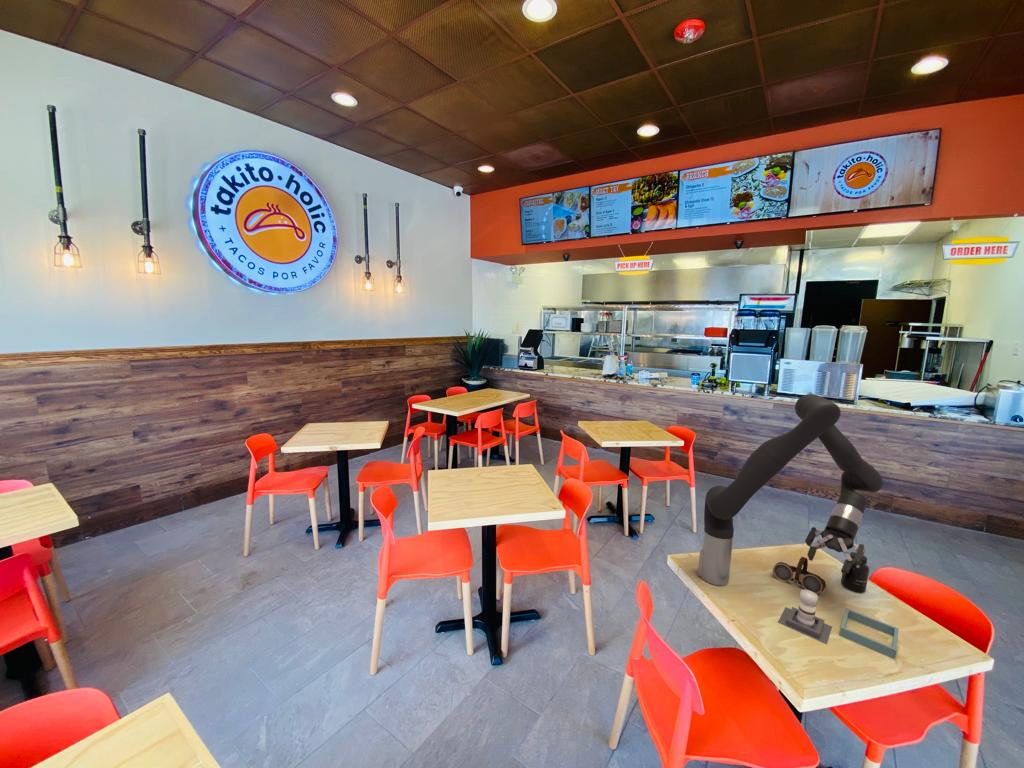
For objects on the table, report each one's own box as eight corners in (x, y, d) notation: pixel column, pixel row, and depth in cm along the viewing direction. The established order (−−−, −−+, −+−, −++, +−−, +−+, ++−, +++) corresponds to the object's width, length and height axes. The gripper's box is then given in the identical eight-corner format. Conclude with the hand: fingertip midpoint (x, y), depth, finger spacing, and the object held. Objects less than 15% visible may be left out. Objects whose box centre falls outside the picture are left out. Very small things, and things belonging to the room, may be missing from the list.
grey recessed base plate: (777, 625, 125) (778, 617, 125) (785, 609, 133) (786, 602, 132) (826, 647, 117) (827, 639, 117) (831, 629, 124) (833, 621, 124)
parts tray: (838, 638, 121) (840, 627, 120) (844, 618, 129) (846, 608, 129) (894, 662, 112) (896, 650, 112) (896, 639, 121) (898, 628, 120)
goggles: (768, 578, 149) (774, 551, 149) (779, 572, 157) (783, 546, 158) (821, 600, 137) (826, 570, 138) (828, 592, 146) (833, 564, 146)
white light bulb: (795, 624, 125) (799, 593, 123) (798, 617, 128) (802, 587, 126) (812, 631, 122) (816, 600, 120) (814, 624, 125) (819, 594, 123)
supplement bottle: (859, 596, 140) (865, 563, 138) (836, 584, 146) (841, 552, 144) (869, 590, 143) (875, 558, 142) (846, 579, 149) (851, 548, 148)
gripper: (816, 507, 138) (797, 550, 133) (871, 525, 126) (852, 572, 121) (820, 518, 142) (802, 560, 137) (873, 536, 130) (856, 582, 125)
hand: (826, 565), depth 129 cm, fingers open, 8 cm apart
